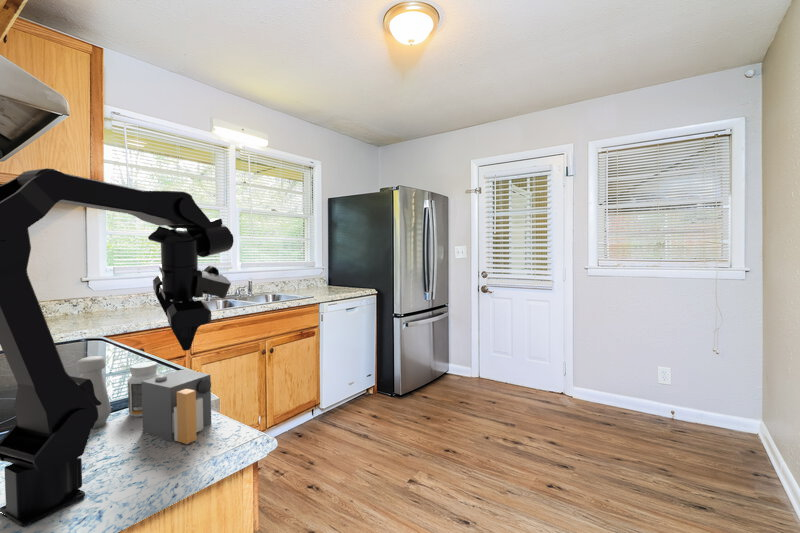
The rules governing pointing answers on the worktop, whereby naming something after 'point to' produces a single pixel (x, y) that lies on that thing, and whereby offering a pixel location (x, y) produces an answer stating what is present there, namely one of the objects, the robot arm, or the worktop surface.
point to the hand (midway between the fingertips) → (181, 338)
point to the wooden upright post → (187, 416)
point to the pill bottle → (139, 385)
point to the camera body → (171, 400)
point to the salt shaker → (96, 384)
